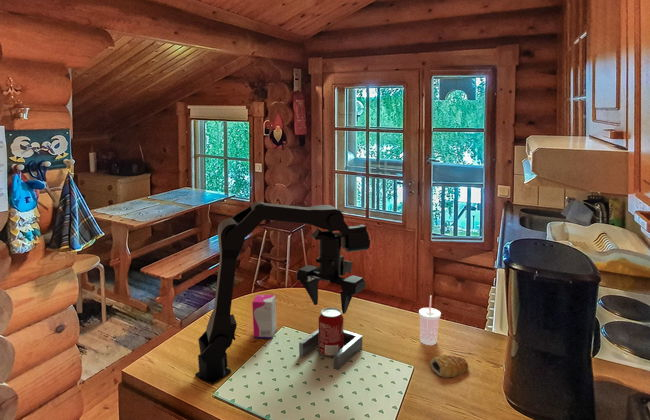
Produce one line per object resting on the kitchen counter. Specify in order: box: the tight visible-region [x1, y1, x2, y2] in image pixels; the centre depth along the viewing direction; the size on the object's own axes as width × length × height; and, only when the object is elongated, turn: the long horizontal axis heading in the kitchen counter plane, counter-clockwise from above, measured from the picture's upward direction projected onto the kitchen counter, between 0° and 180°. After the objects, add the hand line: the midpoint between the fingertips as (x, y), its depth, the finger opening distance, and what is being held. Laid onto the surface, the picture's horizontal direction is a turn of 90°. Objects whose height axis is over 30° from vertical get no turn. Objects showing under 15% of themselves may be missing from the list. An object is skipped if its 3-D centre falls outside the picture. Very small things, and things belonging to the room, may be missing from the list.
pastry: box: [429, 354, 469, 379], centre depth 112 cm, size 9×7×4 cm
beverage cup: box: [418, 295, 442, 346], centre depth 125 cm, size 6×6×14 cm
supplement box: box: [252, 294, 278, 340], centre depth 130 cm, size 6×6×12 cm
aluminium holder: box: [298, 328, 363, 371], centre depth 121 cm, size 13×12×4 cm
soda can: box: [318, 307, 344, 358], centre depth 120 cm, size 7×7×12 cm
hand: (329, 308), depth 118 cm, fingers open, 9 cm apart
